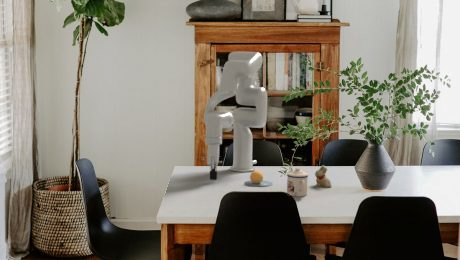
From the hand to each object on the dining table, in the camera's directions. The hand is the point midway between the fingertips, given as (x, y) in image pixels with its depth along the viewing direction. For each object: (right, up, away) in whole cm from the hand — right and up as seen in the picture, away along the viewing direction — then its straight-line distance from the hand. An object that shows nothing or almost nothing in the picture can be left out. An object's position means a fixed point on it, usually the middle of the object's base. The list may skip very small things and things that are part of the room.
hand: (213, 179), depth 320 cm
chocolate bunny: (+51, -3, -3) cm, 51 cm away
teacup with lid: (+37, -5, -22) cm, 43 cm away
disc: (+21, -2, 0) cm, 21 cm away
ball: (+20, +1, -1) cm, 20 cm away
